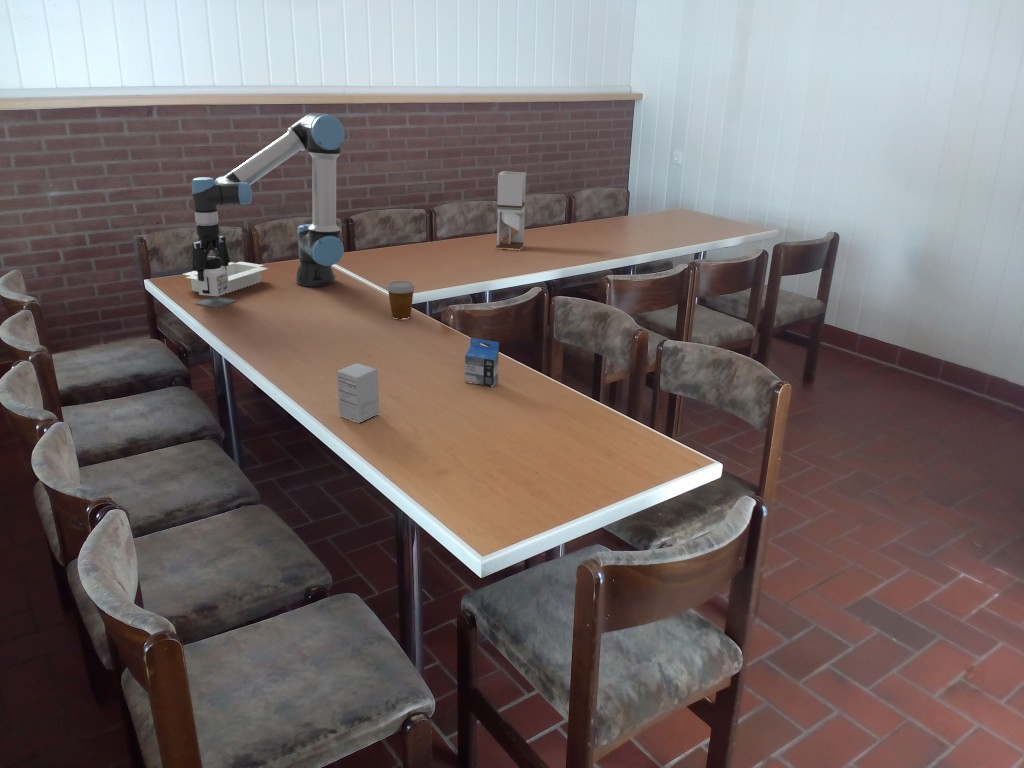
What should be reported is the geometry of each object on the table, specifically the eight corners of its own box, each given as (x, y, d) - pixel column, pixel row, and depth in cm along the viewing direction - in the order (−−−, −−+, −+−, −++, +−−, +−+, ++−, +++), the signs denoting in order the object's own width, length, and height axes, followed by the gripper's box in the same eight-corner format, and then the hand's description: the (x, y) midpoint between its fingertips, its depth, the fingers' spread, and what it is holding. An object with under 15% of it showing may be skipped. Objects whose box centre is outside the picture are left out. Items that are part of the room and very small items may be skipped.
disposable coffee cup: (393, 323, 279) (392, 289, 275) (383, 315, 287) (382, 282, 283) (419, 319, 284) (418, 286, 279) (409, 312, 291) (408, 279, 287)
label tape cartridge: (464, 382, 231) (464, 341, 226) (469, 378, 234) (470, 337, 230) (493, 387, 228) (494, 346, 223) (498, 383, 231) (499, 341, 227)
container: (218, 296, 290) (214, 260, 285) (198, 294, 291) (194, 258, 287) (229, 291, 297) (226, 255, 292) (210, 289, 299) (206, 254, 294)
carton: (274, 281, 325) (273, 266, 322) (221, 299, 300) (220, 283, 298) (233, 274, 333) (231, 260, 330) (178, 291, 308) (176, 275, 306)
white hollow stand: (496, 249, 388) (497, 174, 375) (500, 245, 398) (502, 171, 385) (520, 251, 387) (522, 175, 373) (523, 246, 396) (526, 172, 383)
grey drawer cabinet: (359, 407, 213) (356, 362, 208) (380, 415, 209) (378, 368, 204) (338, 417, 207) (335, 370, 202) (359, 424, 203) (357, 377, 198)
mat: (236, 301, 298) (236, 300, 298) (216, 308, 290) (216, 306, 289) (215, 297, 302) (215, 296, 302) (195, 304, 293) (195, 302, 293)
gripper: (221, 217, 295) (227, 278, 304) (175, 227, 277) (183, 291, 286) (237, 219, 293) (243, 281, 301) (192, 229, 275) (199, 295, 283)
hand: (213, 286), depth 293 cm, fingers closed on container, 9 cm apart
